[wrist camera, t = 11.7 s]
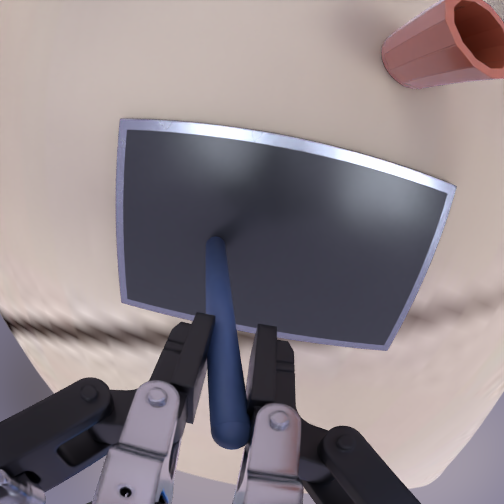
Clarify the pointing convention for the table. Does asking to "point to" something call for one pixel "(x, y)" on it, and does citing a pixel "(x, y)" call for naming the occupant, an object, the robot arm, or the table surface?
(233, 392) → the stylus
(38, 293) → the table surface
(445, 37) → the pen pot
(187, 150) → the tablet
